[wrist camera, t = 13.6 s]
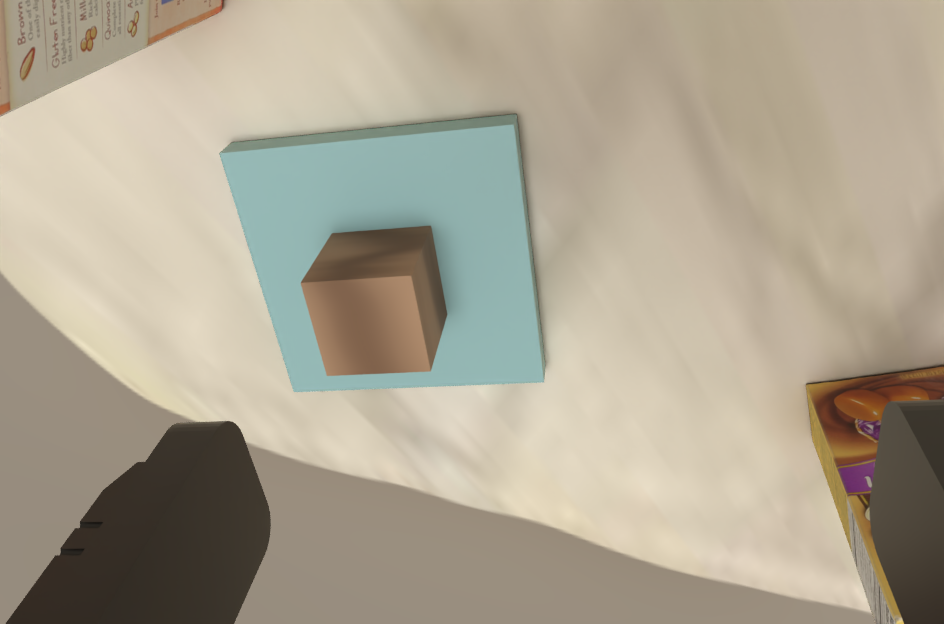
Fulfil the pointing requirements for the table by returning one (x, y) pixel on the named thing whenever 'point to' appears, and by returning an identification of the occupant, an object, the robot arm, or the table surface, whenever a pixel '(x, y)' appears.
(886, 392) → the candy box
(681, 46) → the table surface
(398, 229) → the walnut cube
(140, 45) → the cracker box
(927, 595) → the robot arm
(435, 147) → the teal board
